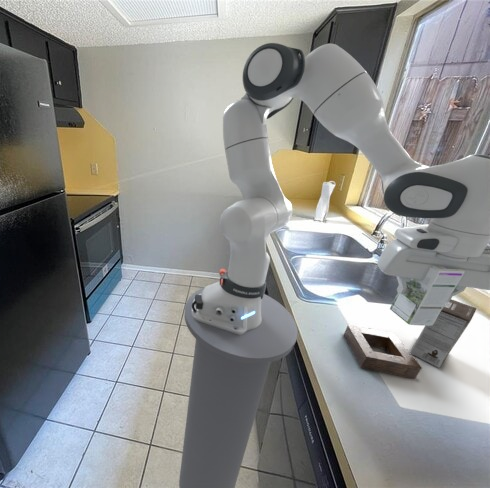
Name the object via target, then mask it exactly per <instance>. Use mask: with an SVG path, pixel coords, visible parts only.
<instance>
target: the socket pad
mask: <svg viewBox="0 0 490 488" xmlns="http://www.w3.org/2000/svg"><path fill="white" fill-rule="evenodd" d="M343 337H344V339H345V341H346V343H347V344H348V346H349V349H350V351H351V352H352V355H353V356H354V357H355V359H356V361H357V363H358V365H359V368H360V369H365V370H368V371H369V370H370V371H375V372H379V373H384V374H389V375H393V376H399V377H403V378H408V379H413V380H415V379H416V378H417V377H418V375H419V374H420V372H421V371H422V369H423V367H422V366H421V365H420V363H419V362H418V360H416V358H415V356H414V355H413V354H411V353H410V351H409V349H408V348H407V347H406V345H405V344H404V343H403V342H402V341H401V339H400V338H399V336H398V335H397V334H396V333H394V332H389V331H384V330H378V329H372V328H366V327H361V326H355V325H349V324H347V326H346V329H345V331H344V333H343ZM372 347H374V348H379V349H383V350H384V351H385V352H386V353H383V352H379V351H374V350H373V349H372Z"/></svg>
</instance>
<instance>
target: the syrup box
mask: <svg viewBox="0 0 490 488" xmlns="http://www.w3.org/2000/svg"><path fill="white" fill-rule="evenodd" d="M464 273H465V271H464V270H460V269H455V268H449V267H435V266H433V267H430V269H429V270H428V272H427V274H426V276H425V278H424V279H423V280H418V279H411V280H410V281H409V282H406V285H407V286H408V287H409V288H410V289H411V291H410V292H409V295H403V294H399V293H398V292H397V294H396V295H395V297H394V300H393V302H392V303H391V306H390V308H389V310H390V311H391V312H393V313H394V314H395V315H396V316H397V317H399V318H400V319H401V320H403V322H405V323H406V324H408V325H410V326H423V327H425V326H432V325H433V324H434V322H435V320H436V319H437V317H438V315H439V313H440V312H441V310H442V308H443V307H444V305H445V304H446V302H447V300H448V299H449V297H450V295H451V294H452V292H453V291H454V289H455V287H456V286H457V284H458V283H459V281H460V279H461V278H462V276H463V274H464Z"/></svg>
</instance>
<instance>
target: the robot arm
mask: <svg viewBox="0 0 490 488" xmlns="http://www.w3.org/2000/svg"><path fill="white" fill-rule="evenodd" d="M242 85H243V89H244V91H245V93H244V95H243V96H242V97H241V98H240V99H238V100H235V101H233V102H232V103H230V104H229V105H228V106H227V107H226V109H225V110H224V112H223V116H222V140H223V146H224V153H225V154H224V155H225V158H226V164H227V165H226V166H227V170H228V175H229V179H230V181H231V182H232V183H233V184H234V185H236V186H237V188H238V189H239V191H240V193H241V195H242V198H243V199H241V200H238V201H236V202H234V203H232V204H231V205H230V206H228V207H227V208H225V209H224V210H223V211H222V213H221V215H220V218H219V227H220V228H219V229H220V231H221V233H222V235H223V236H224V237H225V238H226V240H228V243H229V251H230V255H229V264H228V270H226V269H225V268H220V269H219V274H218V275H219V281H216V282H213V283H210V284H208V285H205V287H203V288H204V290H203V291H202V293H201V294H199V295H195V299H194V301H193V303H192V309H191V312H192V316H193V318H194V319H195V320H197V321H200V322H203V323H206V324H209V325H212V326H215V327H217V328H220V329H223V330H226V331H229V332H232V333H235V334H238V335H242V334H244V333H245V332H246V331H248V330H251V329H254V328H257V327H258V326H259V325H260V324H261V322H262V317H261V301H262V299H263V295H264V294H266V293H265V292H266V288H267V281H266V279H267V275H268V271H269V267H270V263H271V257H270V255H269V253H268V251H267V239H268V237H269V236H270V234H272V233H275V232H277V231H279V230H281V229H283V227H285V226H286V225H287V224H288V222H289V221H290V220H291V218H292V216H293V205H292V203H291V201H290V200H289V199H288V197H286V196H285V195H284V192H283V190H282V188H281V185H280V183H279V181H278V179H277V175H276V172H275V169H274V166H273V160H272V154H271V148H270V142H269V135H268V134H269V133H268V130H267V120H269V119H270V118H272V117H274V116H275V115H276V114H278V113H279V112H280V111H281V112H282V110H284V109H286V108H287V107H288V106H289V105H290V104H291V103H292V102H293V101H294V99H297V100H300V101H301V102H303V103H304V104H305V105H306V106H307V107H308V109H309V110H310V111H311V113H312V114H313V116H314V117H315V118H316V120H317V121H318V122H319V123H320V124H321V125H322V126H323V128H325V129H326V130H327V131H328V132H329V133H331V134H332V135H334V136H335V137H336V138H339V139H340V140H343V141H346V142H348V143H349V144H351V145H353V146H354V147H356V148H357V149H358V150H359V151H360V152H361V153H362V155H364V157H365V158H366V159H367V161H368V162H369V163H370V164H371V166H372V167H373V168H374V170H375V171H376V172H377V173H378V175H379V177H380V179H381V189H382V194H383V202H384V205H385V207H386V208H387V209H388V210H389V211H390V212H392V213H393V214H394V215H397V216H400V217H404V218H413V219H414V218H415V219H416V218H417V219H430V220H429V223H428V224H427V223H425V224H421V225H420V224H419V225H415V226H407V227H400V228H397V229H395V231H394V234H393V236H394V238H395V239H392V240H390V241H389V242H388V243H387V244H386V245H385V247H384V249H383V250H382V252H381V254H380V256H379V257H378V260H377V264H376V265H377V267H378V269H379V270H380V271H381V272H382V273H383V274H384V275H387V276H391V277H396V280H397V282H398V286H397V288H396V292H397V293H399V294H403V295H409V292H410V291H411V289H410V288H409V287H408V286H407V285H406V282H409V281H410V280H411V279H418V280H423V279H424V278H425V276H426V274H427V272H428V270H429V269H430V267H433V266H435V267H449V268H455V269H460V270H464V271H465V273H464V274H463V276H462V278H461V279H460V281H459V283H458V284H457V286H456V287H455V289H454V291H453V292H452V294H451V295H450V297H449V299H448V300H447V302H449V301H450V300H451V299H452V298H453V297H455V296H457V295H458V294H460V293H463V292H464V291H465V290H466V288H471V289H478V290H485V291H490V155H489V154H483V153H482V154H481V153H476V154H469V155H468V156H466V157H462V158H460V159H457V160H453V161H450V162H446V163H441V164H438V165H433V166H429V165H426V164H423V163H421V162H419V161H417V160H415V159H414V158H412V156H410V154H409V153H408V152H407V151H406V149H405V148H404V147H403V145H402V144H401V143H400V141H399V140H398V139H397V137H396V136H395V135H394V134H393V132H392V131H391V129H390V127H389V124H388V122H387V118H386V112H385V105H384V101H383V98H382V95H381V94H380V91H379V89H378V87H377V85H376V83H375V82H374V80H373V78H372V77H371V76H370V74H369V73H368V72H367V70H366V69H365V68H364V67H363V66H362V65H361V63H360V62H359V61H358V60H356V59H355V58H354V57H353V56H352V55H351V54H350V53H349V52H347V51H346V50H345V49H343V48H342V47H341V46H339V45H337V44H335V43H325V44H322V45H320V46H318V47H316V48H314V49H313V50H312V51H310V52H309V53H308V54H307V55H306V56H305V53H304V52H303V50H302V49H300V48H295V47H290V46H288V45H287V46H286V45H284V44H282V43H278V42H268V43H264V44H262V45H260V46H258V47H256V49H254V50H253V51H252V52H251V53H250V54H249V56H248V57H247V59H246V61H245V63H244V66H243V69H242Z"/></svg>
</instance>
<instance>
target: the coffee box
mask: <svg viewBox="0 0 490 488" xmlns="http://www.w3.org/2000/svg"><path fill="white" fill-rule="evenodd" d="M476 312H477V307H474V306H472V305H468V304H466V303H464V302H461V301H458V300H455V299H452V298H451V300H450V301H449V302H446V304H445V305H444V307H443V308H442V310H441V312H440V313H439V315H438V317H437V319H436V320H435V322H434V324H433V325H432V326H423V328H422V330H421V332H420V334H419V335H418V337H417V339H416V341H415V342H414V344H413V346H412V348H411V349H410V351H409V352H410V353H411V355H412V356H414V357H416V358H419V359H420V360H423V361H424V362H426V363H428V364H430V365H432V366H434V367H436V368H440V367H442V364H443V363H444V361H445V360H446V358H447V357H448V355H449V354H450V353H451V351H452V349H453V348H454V347H455V345H456V343H457V342H458V341H459V339H460V338H461V336H462V335H463V333H464V332H465V331H466V329H467V327H468V326H469V324H470V323H471V321H472V319H473V318H474V315H475V313H476Z"/></svg>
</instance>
